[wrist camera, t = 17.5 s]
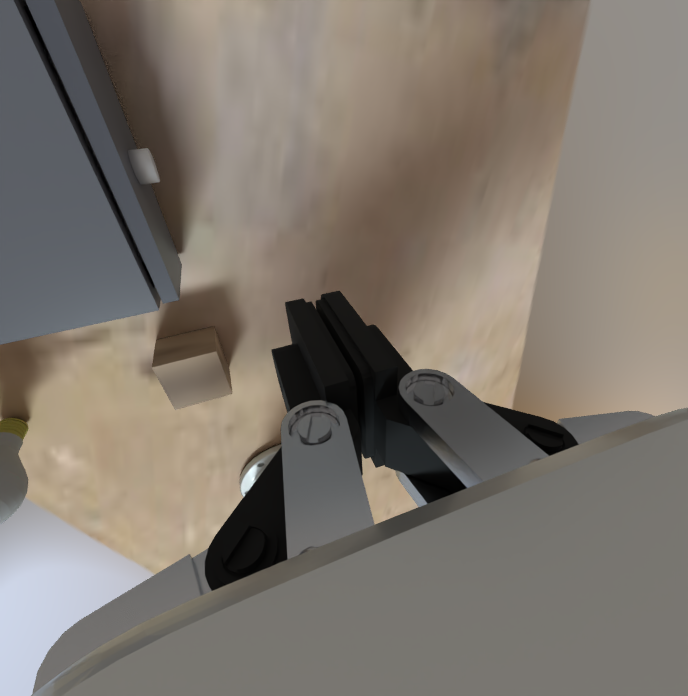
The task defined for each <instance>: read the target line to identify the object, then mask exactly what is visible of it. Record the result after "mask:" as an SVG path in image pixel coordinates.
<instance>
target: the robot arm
mask: <svg viewBox="0 0 688 696" xmlns="http://www.w3.org/2000/svg"><path fill="white" fill-rule="evenodd" d="M285 306H286V312H287V317H288V323H289V328H290V334H291V339H292V345H288V346H284V347H280V348H276V349H272V355H273V360H274V364H275V368H276V373H277V377H278V381H279V384H280V388H281V392H282V395H283V399H284V402H285V406H286V409H287V412H288V413H287V414H286V416H285V418H284V419H283V421H282V425H281V445H278V446H275V447H272V448H270V449H268V450H266V451H264V452H262V453H261V454H259V455H258V456H256V457H255V458H254V459H253V460H252V461H251V462H249V463H248V464H247V466H246V467H245V468H244V470H243V472H242V474H241V476H240V491H241V494H242V496H243V497H244V498H243V499H242V500H241V502H240V503H239V504H238V506H237V507H236V508H235V510H234V511H233V513H232V514H231V515H230V517H229V518H228V519H227V521H226V522H225V523H224V525H223V526H222V527H221V529H220V530H219V531H218V533H217V534H216V536H215V537H214V539H213V541H212V543H211V544H210V546H209V548H208V549H207V550H205V551H203V552H202V553H200V554H198V555H197V556H195V557H193V558H192V557H191V555H190V554H189V555H187V556H186V557H184V558H182V559H181V560H179V561H177V562H176V563H174V564H172V565H171V566H169V567H167V568H166V569H164V570H162V571H161V572H159V573H157V574H156V575H154V576H152V577H151V578H149V579H147V580H146V581H144V582H142V583H141V584H139V585H137V586H136V587H134V588H132V589H131V590H129V591H127V592H126V593H124V594H122V595H121V596H119V597H117V598H116V599H114V600H112V601H111V602H109V603H108V604H106V605H104V606H103V607H101V608H99V609H98V610H96V611H94V612H93V613H91V614H89V615H88V616H86V617H84V618H83V619H81V620H80V621H78V622H77V623H76V624H74V625H73V626H72V627H71V628H69V629H68V630H67V631H65V632H64V633H63V634H62V635H61V637H60V638H59V639H58V640H57V641H56V643H55V644H54V645H53V646H52V647H51V649H50V650H49V651H48V653H47V655H46V657H45V659H44V660H43V663H42V664H41V666H40V668H39V670H38V672H37V676H36V681H35V685H34V689H33V694H32V695H31V696H688V408H684V409H678V410H675V411H672V412H668V413H665V414H662V415H658V416H653V415H651V414H647V413H643V412H639V411H624V412H616V413H607V414H599V415H590V416H582V417H573V418H564V419H559V420H558V422H557V423H555V422H554V421H551V420H548V419H545V418H542V417H539V416H535V415H531V414H527V413H523V412H519V411H515V410H512V409H508V408H504V407H500V406H496V405H492V404H488V403H485V402H482V401H481V400H480V399H478V398H477V397H476V396H475V395H474V394H472V393H471V392H470V391H469V390H467V389H466V388H465V387H464V386H462V385H461V384H460V383H459V382H458V381H456V380H455V379H454V378H452V377H451V376H449V375H448V374H446V373H443V372H441V371H438V370H431V369H419V370H415V371H413V370H412V369H411V368H410V367H409V365H408V364H407V363H406V362H405V361H404V359H403V358H402V357H401V356H400V354H399V353H398V352H397V351H396V349H395V348H394V347H393V346H392V345H391V343H390V342H389V341H388V340H387V338H386V337H385V336H384V335H383V334H382V332H381V331H380V330H379V329H378V327H377V326H375V325H370V326H366V324H365V323H364V322H363V320H362V319H361V318H360V316H359V315H358V314H357V313H356V311H355V310H354V309H353V307H352V306H351V305H350V304H349V302H348V301H347V300H346V298H345V297H344V296H343V294H342V293H341V292H340V291H336V292H331V293H326V294H322V295H321V300H316V309H315V307H314V305H313V303H312V302H307V303H306V302H305V300H304V299H299V300H294V301H289V302H285ZM361 452H362V453H361ZM362 454H363V456H364V458H365V459H366V458H369V457H371V459H372V461H373V463H374V465H375V467H376V468H377V467H380V466H382V465H385V467H388V468H391V469H394V470H395V471H396V475H397V477H398V479H399V481H400V482H401V484H402V485H403V486H404V488H405V489H406V490H407V492H408V493H409V494H410V496H411V497H412V498H413V500H414V501H415V502H416V504H417V505H418V506H419V507H418V508H416V509H413V510H411V511H408V512H406V513H403V514H401V515H398V516H396V517H393V518H391V519H388V520H386V521H383V522H381V523H378V524H376V525H374V521H373V517H372V513H371V510H370V506H369V502H368V498H367V494H366V490H365V487H364V483H363V479H362V475H363V473H362Z"/></svg>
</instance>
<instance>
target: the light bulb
mask: <svg viewBox="0 0 688 696" xmlns="http://www.w3.org/2000/svg"><path fill="white" fill-rule="evenodd" d="M27 431H28V425H27V423H26V422H24V421H23V420H21V419H17V418H6V419H3V420H2V421H0V524H2V523H3V522H4V521H6V520H7V519H8V518H9V517H11V516H12V515H13V514H14V512H15V511H16V510H17V509H18V508H19V507H20V506H21V504H22V502H23V500H24V498H25V496H26V493H27V488H28V477H27V474H26V471H25V469H24V467H23V465H22V463H21V460H20V458H19V455H18V453H19V450H20V448H21V446H22V444H23V439H24V437H25V435H26V433H27Z"/></svg>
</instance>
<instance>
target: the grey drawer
mask: <svg viewBox="0 0 688 696" xmlns="http://www.w3.org/2000/svg"><path fill="white" fill-rule="evenodd" d="M25 1H26V3H27V5H28V8H29V10H30V12H31V14H32V16H33V19H34V21H35V23H36V25H37V27H38V30H39V32H40V34H41V35H37V36H38V38H39V40H40V42H41V45H42V47H43V49H44V51H45V53H46V56H47V58H48V60H49V62H50V64H51V66H52V69H53V71H54V73H55V75H56V77H57V79H58V82H59V84H60V86H61V88H62V90H63V92H64V95H65V97H66V99H67V101H68V103H69V106H70V108H71V110H72V112H73V114H74V116H75V119H76V121H77V123H78V125H79V127H80V129H81V132H82V134H83V136H84V138H85V140H86V143H87V145H88V147H89V149H90V151H91V153H92V156H93V158H94V160H95V162H96V164H97V166H98V169H99V171H100V173H101V175H102V177H103V179H104V182H105V184H106V186H107V188H108V190H109V193H110V195H111V197H112V199H113V201H114V203H115V206H116V208H117V210H118V212H119V214H120V216H121V219H122V221H123V223H124V225H125V227H126V230H127V232H128V234H129V236H130V238H131V240H132V243H133V245H134V247H135V249H136V251H137V253H138V256H139V258H140V260H141V262H144V263H145V265H146V267H147V269H148V272H149V274H150V276H151V278H152V280H153V283H154V285H155V287H156V289H157V291H158V294H159V296H160V298H161V300H162V302H163V303H168V302H172V301H177V300H179V297H180V283H181V268H182V264H181V261H180V259H179V256H178V254H177V251H176V248H175V246H174V243H173V241H172V238H171V235H170V233H169V230H168V228H167V225H166V222H165V220H164V217H163V215H162V212H161V209H160V207H159V204H158V202H157V199H156V196H155V194H154V191H153V189H152V186H151V183H158V182H160V178H159V174H158V170H157V167H156V164H155V161H154V159H153V156H152V154H151V152H150V150H149V149H148V148H143V149H137V147H136V144H135V142H134V139H133V137H132V134H131V131H130V129H129V126H128V124H127V121H126V118H125V116H124V113H123V111H122V108H121V105H120V103H119V100H118V98H117V95H116V92H115V90H114V87H113V84H112V82H111V79H110V77H109V74H108V71H107V69H106V66H105V64H104V61H103V58H102V56H101V53H100V51H99V48H98V45H97V43H96V40H95V38H94V35H93V32H92V30H91V27H90V25H89V22H88V19H87V17H86V14H85V12H84V9H83V6H82V4H81V2H80V1H79V0H25Z"/></svg>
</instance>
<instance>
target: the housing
mask: <svg viewBox="0 0 688 696" xmlns="http://www.w3.org/2000/svg"><path fill="white" fill-rule="evenodd" d="M37 35H41V34H40V32H39V30H38V27H37V25H36V23H35V21H34V19H33V16H32V14H31V12H30V10H29V8H28V5H27V3H26V1H25V0H0V345H1V344H5V343H10V342H15V341H19V340H24V339H28V338H33V337H38V336H42V335H47V334H52V333H56V332H61V331H65V330H70V329H75V328H79V327H84V326H88V325H93V324H98V323H102V322H107V321H111V320H116V319H121V318H125V317H130V316H135V315H139V314H144V313H148V312H153V311H158V310H159V307H160V301H161V298H160V296H159V294H158V291H157V289H156V287H155V285H154V283H153V280H152V278H151V276H150V274H149V272H148V269H147V267H146V265H145V263H144V262H141V260H140V258H139V256H138V253H137V251H136V249H135V247H134V245H133V243H132V240H131V238H130V236H129V234H128V232H127V230H126V227H125V225H124V223H123V221H122V219H121V216H120V214H119V212H118V210H117V208H116V206H115V203H114V201H113V199H112V197H111V195H110V193H109V190H108V188H107V186H106V184H105V182H104V179H103V177H102V175H101V173H100V171H99V169H98V166H97V164H96V162H95V160H94V158H93V156H92V153H91V151H90V149H89V147H88V145H87V143H86V140H85V138H84V136H83V134H82V132H81V129H80V127H79V125H78V123H77V121H76V119H75V116H74V114H73V112H72V110H71V108H70V106H69V103H68V101H67V99H66V97H65V95H64V92H63V90H62V88H61V86H60V84H59V82H58V79H57V77H56V75H55V73H54V71H53V69H52V66H51V64H50V62H49V60H48V58H47V56H46V53H45V51H44V49H43V47H42V45H41V42H40V40H39V38H38V36H37Z"/></svg>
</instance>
